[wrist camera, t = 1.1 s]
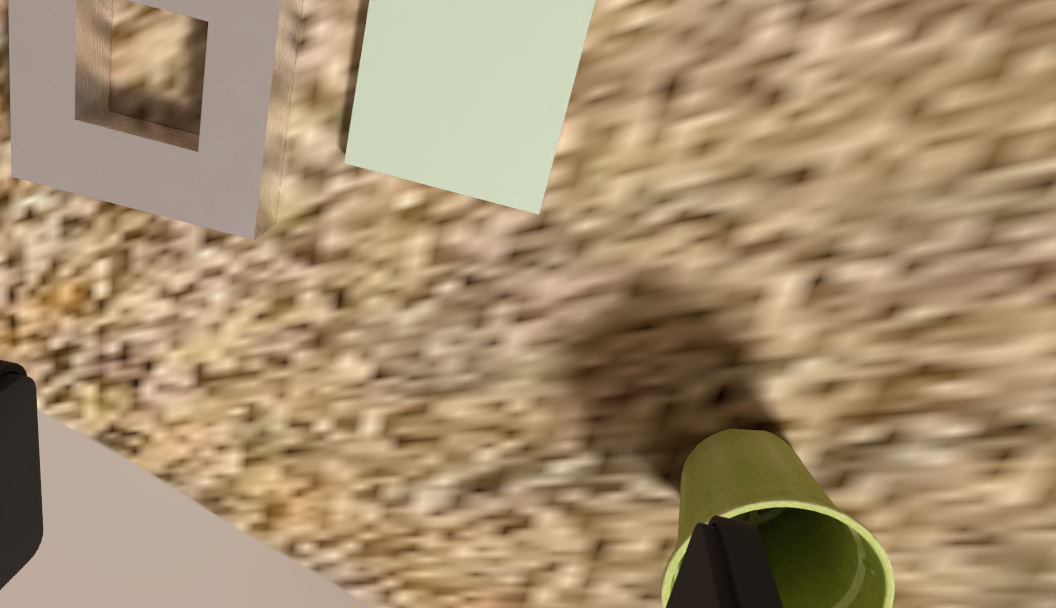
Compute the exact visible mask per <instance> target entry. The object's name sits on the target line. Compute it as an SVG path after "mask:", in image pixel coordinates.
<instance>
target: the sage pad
mask: <svg viewBox="0 0 1056 608" xmlns="http://www.w3.org/2000/svg"><path fill="white" fill-rule="evenodd" d="M594 4H595V0H369V7H368V13H367V20H366V26H365V33H364V39H363V46H362V52H361V59H360V65H359V71H358V78H357V84H356V91H355V97H354V104H353V110H352V117H351V123H350V129H349V136H348V142H347V149H346V155H345V162H344V163H346V164H350V165H354V166H357V167H361V168H365V169H369V170H373V171H376V172H380V173H384V174H388V175H392V176H395V177H399V178H403V179H407V180H410V181H414V182H418V183H422V184H426V185H429V186H433V187H437V188H441V189H444V190H448V191H452V192H456V193H460V194H463V195H467V196H471V197H475V198H479V199H482V200H486V201H490V202H494V203H497V204H501V205H505V206H509V207H513V208H516V209H520V210H524V211H528V212H532V213H535V214H539V212H540V208H541V205H542V201H543V197H544V193H545V190H546V186H547V182H548V178H549V174H550V171H551V167H552V163H553V159H554V155H555V152H556V148H557V144H558V140H559V136H560V133H561V129H562V125H563V121H564V118H565V114H566V110H567V106H568V102H569V99H570V95H571V91H572V87H573V83H574V80H575V76H576V72H577V68H578V64H579V61H580V57H581V53H582V49H583V46H584V42H585V38H586V34H587V30H588V27H589V23H590V19H591V15H592V11H593V8H594Z"/></svg>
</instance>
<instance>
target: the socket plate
mask: <svg viewBox="0 0 1056 608" xmlns="http://www.w3.org/2000/svg"><path fill="white" fill-rule="evenodd" d="M129 1H133V2H136V3H140V4H144V5H148V6H151V7H155V8H159V9H163V10H166V11H170V12H174V13H178V14H181V15H185V16H189V17H193V18H196V19H200V20H204V21H207V22H208V34H207V47H206V59H205V72H204V85H203V98H202V110H201V123H200V135H197V134H193V133H190V132H186V131H182V130H178V129H174V128H171V127H167V126H163V125H159V124H155V123H152V122H148V121H144V120H140V119H136V118H133V117H129V116H125V115H121V114H118V113H114V112H110V111H109V96H110V64H111V32H112V0H8V9H9V62H10V116H11V169H12V177H15V178H19V179H23V180H27V181H30V182H34V183H38V184H42V185H46V186H50V187H53V188H57V189H61V190H65V191H69V192H73V193H76V194H80V195H84V196H88V197H92V198H95V199H99V200H103V201H107V202H111V203H115V204H118V205H122V206H126V207H130V208H134V209H138V210H141V211H145V212H149V213H153V214H157V215H161V216H164V217H168V218H172V219H176V220H180V221H184V222H187V223H191V224H195V225H199V226H203V227H206V228H210V229H214V230H218V231H222V232H226V233H229V234H233V235H237V236H241V237H245V238H249V239H252V240H255V239H256V238H257V237H259V236H260V235H261V234H263V233H264V232H266V231H267V230H268V229H270V228H271V227H272V226H274V225H275V224H276V216H277V208H278V200H279V192H280V184H281V176H282V167H283V159H284V151H285V143H286V135H287V127H288V119H289V111H290V103H291V94H292V86H293V78H294V70H295V62H296V54H297V46H298V38H299V29H300V21H301V13H302V5H303V0H129Z"/></svg>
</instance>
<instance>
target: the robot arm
mask: <svg viewBox="0 0 1056 608" xmlns="http://www.w3.org/2000/svg"><path fill="white" fill-rule="evenodd" d="M38 439H39V438H38V419H37V398H36V386H35V382H34V381H33V379H31V378H30V377H27V374H26V371H25V369H24V368H23V366H21V365H19V364H17V363H12V362H8V361H3V360H0V590H1V589H2V588H3V587H4V586H5V584H7V582H8V581H9V580H10V579H12V577H13V576H15V575H16V574H17V572H18V571H19V570H20V569H22V567H23V566H24V565H25V564H26V563H27V562H28V561H29V560H30V559H31V558H32V557H33V556H34V555H35V553H36V551H37V549H38V548H39V545H40V543H41V540H42V536H43V516H42V496H41V479H40V459H39V458H40V457H39V440H38ZM666 608H783V605H782V602H781V599H780V595H779V592H778V589H777V586H776V583H775V580H774V577H773V574H772V570H771V567H770V564H769V561H768V558H767V555H766V552H765V549H764V545H763V542H762V539H761V536H760V533H759V530H758V528H757V526H756V525H755V524H753V523H749V522H745V521H740V520H735V519H731V518H726V517H722V516H717V515H715V516H713V517H712V518H711V519H710V521H709V523H708V524H704V523H697V524H696V526H695V528H694V530H693V533H692V535H691V538H690V541H689V544H688V546H687V549H686V552H685V555H684V558H683V560H682V563H681V566H680V569H679V572H678V574H677V577H676V580H675V583H674V586H673V588H672V591H671V594H670V597H669V600H668V602H667V605H666Z"/></svg>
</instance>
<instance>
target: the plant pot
mask: <svg viewBox="0 0 1056 608" xmlns="http://www.w3.org/2000/svg"><path fill="white" fill-rule="evenodd" d="M772 507H774V508H773V509H772V510H771V511H769V512H767V513H765V514H760V515H759V514H758V511H759V510H760V509H763V508H772ZM715 515H717V516H722V517H726V518H731V519H735V520H740V521H745V522H749V523H753V524H755V525H756V526H757V528H758V530H759V533H760V536H761V539H762V542H763V545H764V549H765V552H766V555H767V558H768V561H769V564H770V567H771V570H772V574H773V577H774V580H775V583H776V586H777V589H778V592H779V595H780V599H781V602H782V605H783V608H891V607H892V603H893V599H894V587H895V586H894V575H893V570H892V566H891V563H890V561H889V558H888V556H887V554H886V552H885V550H884V549H883V547H882V545H881V544H880V543H879V541H878V540H877V539H876V537H875V536H874V535H873V534H872V533H871V532H870V531H869V530H868V529H867V528H866V527H865V526H864V525H863V524H862V523H860V522H859V521H858V520H856V519H855V518H853V517H852V516H850V515H849V514H847V513H845V512H843V511H841V510H840V509H839V508H838V507H836V506H835V505H834V504H833V503H832V501H831V500H830V499H829V497H828V496H827V495H826V494H825V492H824V491H823V490H822V488H821V487H820V486H819V484H818V483H817V482H816V480H815V479H814V478H813V476H812V475H811V474H810V472H809V471H808V470H807V468H806V467H805V465H804V464H803V463H802V461H801V460H800V458H799V457H798V456H797V454H796V453H795V451H794V450H793V449H792V448H791V447H790V446H789V444H787V443H786V442H785V441H784V440H782V439H781V438H779V437H778V436H776V435H774V434H772V433H770V432H767V431H764V430H745V429H735V428H733V429H727V430H723V431H720V432H718V433H715V434H713V435H711V436H709V437H707V438H706V439H704V440H703V441H702V442H700V443H699V444H698V445H697V446H696V447H695V448H694V449H693V450H692V452H691V453H690V454H689V456H688V457H687V459H686V461H685V464H684V467H683V471H682V475H681V487H680V513H679V529H678V542H677V544H676V547H675V550H674V551H673V553H672V555H671V557H670V559H669V560H668V563H667V565H666V568H665V571H664V574H663V579H662V586H661V601H662V608H666V605H667V602H668V600H669V597H670V594H671V591H672V588H673V586H674V583H675V580H676V577H677V574H678V572H679V569H680V566H681V563H682V560H683V558H684V555H685V552H686V549H687V546H688V544H689V541H690V538H691V535H692V533H693V530H694V528H695V526H696V524H697V523H704V524H708V523H709V521H710V519H711V518H712V517H713V516H715Z"/></svg>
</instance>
